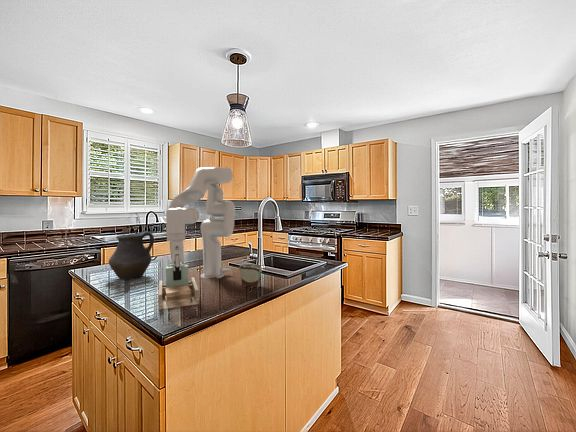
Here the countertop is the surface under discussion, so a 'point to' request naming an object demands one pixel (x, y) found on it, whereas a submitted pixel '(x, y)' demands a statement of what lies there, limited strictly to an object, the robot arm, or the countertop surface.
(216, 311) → the countertop surface
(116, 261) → the pitcher
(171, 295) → the offcut
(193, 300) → the rack
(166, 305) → the offcut
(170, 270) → the pale green slab
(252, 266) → the food container
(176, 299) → the offcut
